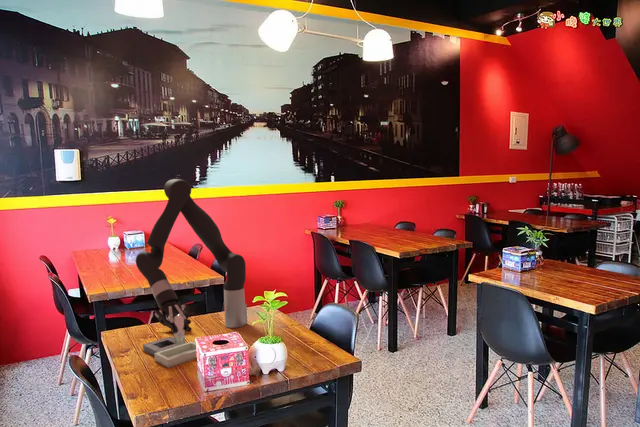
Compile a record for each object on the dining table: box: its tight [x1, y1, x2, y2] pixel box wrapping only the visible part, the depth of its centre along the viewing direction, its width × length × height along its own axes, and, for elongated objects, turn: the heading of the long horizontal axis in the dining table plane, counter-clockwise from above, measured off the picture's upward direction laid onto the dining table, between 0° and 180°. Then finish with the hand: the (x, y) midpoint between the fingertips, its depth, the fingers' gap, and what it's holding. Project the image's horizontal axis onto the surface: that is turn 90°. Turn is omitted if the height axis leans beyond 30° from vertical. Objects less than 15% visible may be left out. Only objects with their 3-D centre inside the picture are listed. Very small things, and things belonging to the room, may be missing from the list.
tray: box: [154, 341, 197, 369], centre depth 182 cm, size 16×10×3 cm, turn 136°
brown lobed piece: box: [159, 318, 193, 332], centre depth 212 cm, size 7×7×15 cm
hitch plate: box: [142, 336, 187, 358], centre depth 190 cm, size 12×12×2 cm
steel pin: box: [173, 314, 186, 345], centre depth 180 cm, size 4×4×11 cm
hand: (181, 330), depth 179 cm, fingers closed on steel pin, 4 cm apart
